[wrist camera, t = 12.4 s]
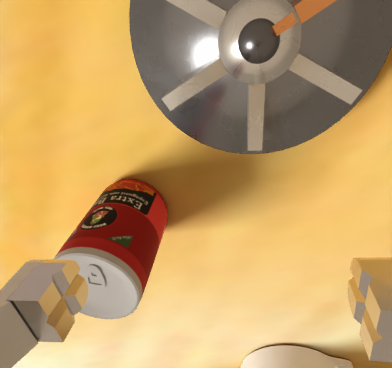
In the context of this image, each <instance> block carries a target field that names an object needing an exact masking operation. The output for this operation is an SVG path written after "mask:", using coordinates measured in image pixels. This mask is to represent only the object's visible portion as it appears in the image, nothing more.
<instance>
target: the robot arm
mask: <svg viewBox="0 0 392 368" xmlns="http://www.w3.org/2000/svg"><path fill="white" fill-rule="evenodd" d="M350 269H351V272H352V274H353V278H352V279H351V280H349V283H348V298H349V304H350V308H351V311H352V314H353V317H354V318H355V319H356V320H357V321H358V322H359V323H360V324H361V330H360V336H361V339H362V342H363V344H364V347H365V350H366V353H367V355H368V358H369V361H379V362H390V363H392V257H391V258H353V260H352V262H351V268H350ZM79 271H80V267H79V266H78V264H77V262H76V261H72V260H30V261H28V262H26V263H25V264H24V265H23V266H22V267H21V268H20V270H19V271H18V272H17V273H16V274H15V275H14V276H13V277H12V278H11V279H10V280H9V281H8V283H7V284H6V285H5V286H4V287H3V288H2V289H1V290H0V368H11V367H13V366H14V365H15V364H16V363H17V362H18V361H19V360H20V359H21V358H22V357H24V356H25V355H26V354H27V353H28V352H29V351H30V350H31V349H32V348H34V347H35V346H36V345H37V344H38V342H64V340H65V338H66V336H67V335H68V333H69V331H70V329H71V328H72V326H73V324H74V322H75V319H74V315H75V314H76V313H78V312H79V311H80V310H82V308H83V306H84V305H85V303H86V301H87V296H88V284H87V282H86V280H85V279H84V278H83V277H82V276H81V275H79ZM240 368H353V364H352V362H351V361H349V360H345V359H341V358H335V357H330V356H327V355H325V354H323V353H321V352H318V351H316V350H313V349H309V348H305V347H300V346H289V345H281V346H271V347H266V348H262V349H259V350H256V351H254V352H252V353H251V354H249V355H248V356H247V357H246V358H245V359H244V360H243V362H242V365H241V367H240Z"/></svg>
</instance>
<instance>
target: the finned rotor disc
mask: <svg viewBox="0 0 392 368" xmlns="http://www.w3.org/2000/svg"><path fill="white" fill-rule="evenodd" d="M166 1H168V2H170V3H172V4H173V5H175V6H177V7H179V8H180V9H182V10H184V11H186V12H188V13H189V14H191V15H193V16H195V17H196V18H198V19H200V20H202V21H203V22H205V23H207V24H209V25H211V26H212V27H214V28H216V29H218V30H219V29H220V30H219V35H218V51H219V54H217V55H216V56H215V57H213V58H212V59H210V60H209V61H207V62H206V63H205V64H203V65H202V66H200V67H199V68H198V69H196V70H195V71H193V72H192V73H190V74H189V75H188V76H186V77H185V78H183V79H182V80H181V81H179V82H178V83H176V84H175V85H173V86H172V87H171V88H170V89H169V90H168V92H167V93H166V94H165V95H164V96H163V98H162V100H163V102H164V103H165V104H166V106H167V107H168V109H169V110H170V111H171V110H173V109H174V108H176V107H177V106H179V105H180V104H182V103H183V102H185V101H186V100H188V99H189V98H191V97H192V96H194V95H195V94H197V93H198V92H200V91H201V90H203V89H204V88H206V87H207V86H209V85H210V84H212V83H213V82H215V81H216V80H218V79H219V78H221V77H222V76H224V75H225V74H227V73H228V72H229V73H230V74H231V75H232V76H233V77H235V78H236V79H238V80H240V81H242V82H245V83H248V97H247V145H248V151H262V142H263V122H264V101H265V83H266V82H269V81H272V80H274V79H276V78H278V77H279V76H280V75H282V74H283V73H284V72H285V71H286V70H287V69H288V70H290V71H292V72H294V73H295V74H297V75H299V76H301V77H303V78H304V79H306V80H308V81H310V82H311V83H313V84H315V85H317V86H318V87H320V88H322V89H324V90H326V91H327V92H329V93H331V94H333V95H334V96H336V97H338V98H340V99H342V100H343V101H345V102H347V103H349V104H350V105H351V104H352V103H353V102H354V100H355V99H356V98H357V97H358V95H359V94H360V93H361V92H362V90H361V89H360V88H358V87H357V86H355V85H354V84H353V83H351V82H350V81H348V80H347V79H345V78H344V77H342V76H340V75H338V74H337V73H335V72H333V71H331V70H330V69H328V68H326V67H325V66H323V65H321V64H319V63H318V62H316V61H314V60H312V59H311V58H309V57H307V56H305V55H304V54H302V53H300V52H299V48H300V44H301V36H302V31H301V24H302V23H303V22H305V21H306V20H308V19H309V18H311V17H312V16H314V15H315V14H317V13H318V12H320V11H321V10H323V9H324V8H326V7H327V6H329V5H330V4H332V3H333V2H335V1H337V0H294V1H293V2H291V3H289V2H288V1H287V0H240V1H239V2H237V3H236V4H235V5H234V6H233V7H232V8H231V9H230V10H229V11H228V10H226V9H224V8H222V7H221V6H219V5H217V4H215V3H214V2H212V1H210V0H166ZM300 23H301V24H300Z"/></svg>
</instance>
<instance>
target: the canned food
mask: <svg viewBox="0 0 392 368" xmlns="http://www.w3.org/2000/svg"><path fill="white" fill-rule="evenodd" d="M167 218H168V217H167V207H166V203H165V201H164V199H163V197H162V196H161V195H160V193H159V192H158V191H157V190H156V189H155V188H153V187H152V186H150V185H149V184H147V183H144V182H142V181H138V180H133V179H126V180H121V181H118V182H116V183H114V184H112V185H110V186H109V187H107V188H106V189H105V190H104V192H103V193H102V194H101V196H100V197H99V198H98V200H97V201H96V202H95V204H94V205H93V206H92V208H91V209H90V210H89V212H88V213H87V214H86V216H85V217H84V218H83V220H82V221H81V222H80V224H79V225H78V226H77V228H76V229H75V230H74V232H73V233H72V234H71V236H70V237H69V238H68V240H67V241H66V242H65V244H64V245H63V246H62V248H61V249H60V251H59V252H58V254H57V255H56V256H55V258H54V260H72V261H76V262H77V264H78V266H79V267H80V271H79V275H81V276H82V277H83V278H84V279H85V280H86V282H87V284H88V296H87V301H86V303H85V305H84V306H83V308H82V310H80V311H79V312H80V313H82V314H85V315H88V316H91V317H95V318H101V319H118V318H122V317H125V316H128V315H129V314H131V313H133V311H134V310H135V309H136V308H137V306H138V304H139V302H140V300H141V298H142V295H143V292H144V289H145V287H146V284H147V281H148V278H149V275H150V272H151V269H152V266H153V263H154V260H155V257H156V254H157V251H158V248H159V245H160V242H161V239H162V236H163V233H164V230H165V227H166V224H167Z"/></svg>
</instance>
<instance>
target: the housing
mask: <svg viewBox="0 0 392 368" xmlns="http://www.w3.org/2000/svg"><path fill="white" fill-rule="evenodd" d="M210 1H212V2H214V3H215V4H217V5H219V6H221V7H222V8H224V9H226V10H228V11H229V10H230V9H231V8H232V7H233V6H234V5H235V4H236V3H237V2H239V1H240V0H210ZM287 1H288V2H289V3H291V2H293V1H294V0H287ZM300 24H301V23H300ZM219 30H220V29H219ZM219 30H218V29H216V28H214V27H212V26H211V25H209V24H207V23H205V22H203V21H202V20H200V19H198V18H196V17H195V16H193V15H191V14H189V13H188V12H186V11H184V10H182V9H180V8H179V7H177V6H175V5H173V4H172V3H170V2H168V1H166V0H130V35H131V42H132V49H133V53H134V57H135V61H136V65H137V68H138V70H139V73H140V76H141V78H142V81H143V83H144V85H145V87H146V89H147V91H148V93H149V94H150V96H151V97H152V99H153V100H154V102H155V104H156V105H157V107H158V108H159V109H160V110H161V111H162V113H163V114H164V115H165V116H166V117H167V118H168V119H169V120H170V121H171V122H172V123H173V124H174V125H175V126H176V127H177V128H179V129H180V130H181V131H183V132H184V133H185V134H187V135H188V136H190V137H191V138H193V139H195V140H197V141H199V142H200V143H203V144H205V145H208V146H210V147H212V148H215V149H219V150H223V151H226V152H233V153H239V154H261V153H270V152H275V151H280V150H284V149H287V148H290V147H293V146H297V145H299V144H301V143H303V142H306V141H308V140H310V139H312V138H314V137H316V136H317V135H319V134H321V133H322V132H324V131H326V130H327V129H328V128H330V127H331V126H332V125H334V124H335V123H336V122H338V121H339V120H340V119H341V118H342V117H343V116H345V115H346V114H347V113H348V112H349V111H350V110H351V109H352V108H353V107H354V106H355V105H356V104H357V102H358V101H359V100H360V99H361V98H362V97H363V96H364V94H365V93H366V92H367V90H368V89H369V87H370V86H371V84H372V83H373V82H374V80H375V79H376V77H377V75H378V73H379V71H380V70H381V68H382V66H383V64H384V63H385V60H386V58H387V56H388V53H389V51H390V49H391V46H392V0H337V1H335V2H333V3H332V4H330V5H329V6H327V7H326V8H324V9H323V10H321V11H320V12H318V13H317V14H315V15H314V16H312V17H311V18H309V19H308V20H306V21H305V22H303V23H302V24H301V31H302V36H301V44H300V48H299V52H300V53H302V54H304V55H305V56H307V57H309V58H311V59H312V60H314V61H316V62H318V63H319V64H321V65H323V66H325V67H326V68H328V69H330V70H331V71H333V72H335V73H337V74H338V75H340V76H342V77H344V78H345V79H347V80H348V81H350V82H351V83H353V84H354V85H355V86H357V87H358V88H360V89H361V90H362V92H361V93H360V94H359V95H358V97H357V98H356V99H355V100H354V102H353V103H352V104H351V105H350V104H349V103H347V102H345V101H343V100H342V99H340V98H338V97H336V96H334V95H333V94H331V93H329V92H327V91H326V90H324V89H322V88H320V87H318V86H317V85H315V84H313V83H311V82H310V81H308V80H306V79H304V78H303V77H301V76H299V75H297V74H295V73H294V72H292V71H290V70H288V69H287V70H286V71H285V72H284V73H283V74H282V75H280V76H279V77H278V78H276V79H274V80H272V81H269V82H266V83H265V101H264V122H263V142H262V151H248V145H247V97H248V83H245V82H242V81H240V80H238V79H236V78H235V77H233V76H232V75H231V74H230V73H229V72H228V73H227V74H225V75H224V76H222V77H221V78H219V79H218V80H216V81H215V82H213V83H212V84H210V85H209V86H207V87H206V88H204V89H203V90H201V91H200V92H198V93H197V94H195V95H194V96H192V97H191V98H189V99H188V100H186V101H185V102H183V103H182V104H180V105H179V106H177V107H176V108H174V109H173V110H171V111H170V110H169V109H168V107H167V106H166V104H165V103H164V102H163V100H162V98H163V96H164V95H165V94H166V93H167V92H168V90H169V89H170V88H171V87H172V86H173V85H175V84H176V83H178V82H179V81H181V80H182V79H183V78H185V77H186V76H188V75H189V74H190V73H192V72H193V71H195V70H196V69H198V68H199V67H200V66H202V65H203V64H205V63H206V62H207V61H209V60H210V59H212V58H213V57H215V56H216V55H217V54H219V51H218V35H219Z"/></svg>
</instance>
